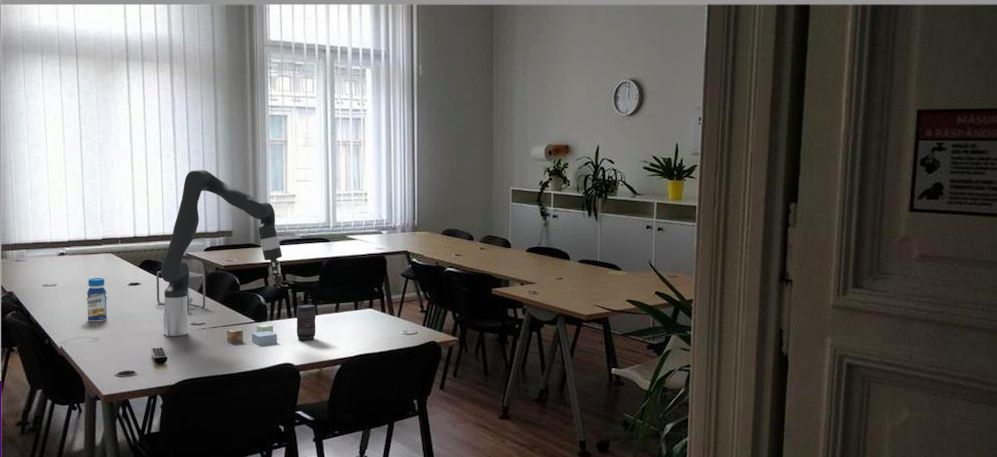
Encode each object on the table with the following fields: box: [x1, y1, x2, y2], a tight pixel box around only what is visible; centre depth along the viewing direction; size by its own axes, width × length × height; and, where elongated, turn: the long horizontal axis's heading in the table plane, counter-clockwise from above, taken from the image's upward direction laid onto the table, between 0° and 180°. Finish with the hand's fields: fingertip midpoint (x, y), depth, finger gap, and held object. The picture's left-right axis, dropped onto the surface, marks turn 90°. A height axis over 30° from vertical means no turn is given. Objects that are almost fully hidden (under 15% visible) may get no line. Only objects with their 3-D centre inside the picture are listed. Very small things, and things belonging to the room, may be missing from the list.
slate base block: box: [251, 331, 278, 346], centre depth 342 cm, size 8×8×4 cm
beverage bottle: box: [86, 277, 108, 323], centre depth 378 cm, size 8×8×20 cm
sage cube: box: [256, 323, 274, 333], centre depth 352 cm, size 5×5×5 cm
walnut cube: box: [226, 328, 244, 344], centre depth 342 cm, size 5×5×5 cm
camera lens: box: [296, 304, 317, 342], centre depth 348 cm, size 8×8×15 cm
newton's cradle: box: [156, 270, 206, 311], centre depth 416 cm, size 30×10×18 cm, turn 52°
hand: (279, 284), depth 344 cm, fingers open, 8 cm apart
